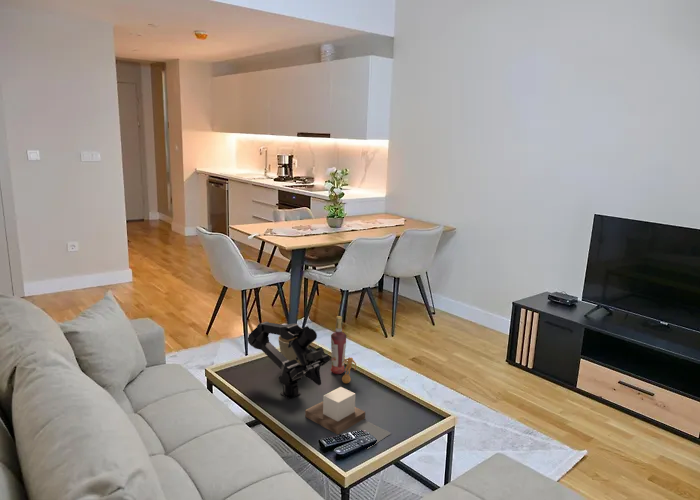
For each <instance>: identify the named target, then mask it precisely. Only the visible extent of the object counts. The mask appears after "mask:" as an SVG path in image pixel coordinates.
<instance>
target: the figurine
mask: <svg viewBox="0 0 700 500" xmlns="http://www.w3.org/2000/svg"><path fill="white" fill-rule="evenodd" d="M346 361H347V364H346V366H345V367H344V369H345V371H346V372H345V373H344V375H343V376H342V377H341V381H342V383H343V384H349V383H350V382H351V381H352V380H351V376H350V374H351V369H352V363H353V364H354V371H356V370H357V363H356V361H355V360H354V358H353V357H348V358H345V360H344V361H343V363H344V364H345V363H346ZM343 363H342V364H343ZM342 364H341V365H342Z"/></svg>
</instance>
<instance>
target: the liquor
mask: <svg viewBox="0 0 700 500" xmlns="http://www.w3.org/2000/svg"><path fill="white" fill-rule="evenodd" d="M335 319H336V321H335V322H336V325H335V326H336V327H335V331H334V332H332V333H331V334H330V348H331V349H330V350H331V368H330V372H332V373H333V374H335V375H342V374H343V373H344V372H345V371H346V370H345V362H344V363H343V361H344V360H345V359H346V348H347V333H345V332H343V326H342V323H343V316H342V315H341V316H340V315H337V316H336V318H335ZM345 361H346V360H345ZM342 363H343V364H342ZM341 364H342V365H341Z"/></svg>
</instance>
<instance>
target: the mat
mask: <svg viewBox="0 0 700 500" xmlns="http://www.w3.org/2000/svg"><path fill="white" fill-rule="evenodd" d="M359 430H366V431H367V432H369V433H370V434H371V435H373V436H374V437H375V438H376V439H377V442H376V443H375V444H374V445H372V446H370V447H368V448H367V449H366V450H369V449H370V448H372V447H374V446H375V445H377V444H378V443H379V442H381V441H382V440H384V439H385V438H387V437H388V436H390V435H391V434H392V432H390V431H388V430H386V429H384V428H383V427H380V426H378V425H375V424H374V423H372V422H370V421H368V420H366V419H363V420H361V421H360V422H358V423H356V424H355V425H353V426H351V427H349V428H348V429H346V430H344V431H343V432H341V433H340V434H339V435H341V434H343V433H347V432H353V431H359Z"/></svg>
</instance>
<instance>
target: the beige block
mask: <svg viewBox="0 0 700 500" xmlns="http://www.w3.org/2000/svg"><path fill="white" fill-rule="evenodd" d="M322 397H323V399H322V400H323V414H324V415H326V416H328V417H330V418H332V419H334V420H336V421H340V420H341V419H343V418H345V417H347V416H348V415H350V414H352V413H354V412H355V407H356V393H355V392H353V391H351V390H348V389H347V388H344V387H342V386H339V387H337V388H336V389H333V390H332V391H330V392H328V393H325V394H323V396H322Z"/></svg>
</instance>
